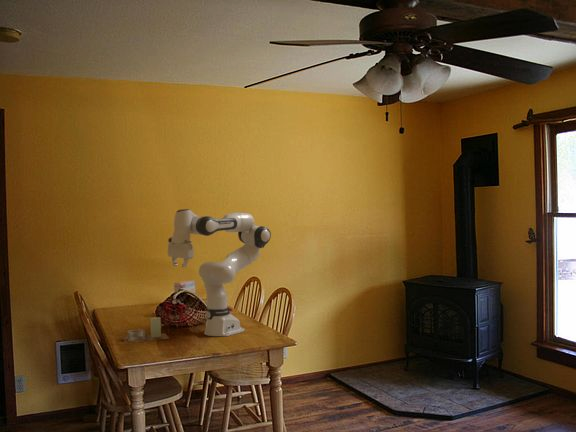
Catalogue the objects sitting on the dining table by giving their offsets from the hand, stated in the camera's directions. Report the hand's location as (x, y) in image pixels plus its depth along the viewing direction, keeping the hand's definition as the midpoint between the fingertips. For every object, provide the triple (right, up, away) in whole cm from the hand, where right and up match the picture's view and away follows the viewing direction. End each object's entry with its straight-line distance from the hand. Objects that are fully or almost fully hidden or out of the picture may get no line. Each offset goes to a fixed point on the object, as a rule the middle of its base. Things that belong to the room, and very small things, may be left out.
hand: (179, 266), depth 280 cm
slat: (-13, -37, +4) cm, 40 cm away
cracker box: (-10, -37, +70) cm, 80 cm away
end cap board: (-18, -39, +2) cm, 43 cm away
